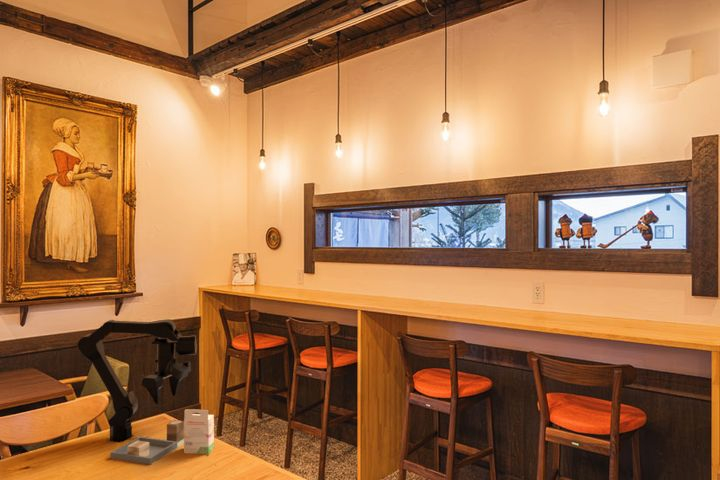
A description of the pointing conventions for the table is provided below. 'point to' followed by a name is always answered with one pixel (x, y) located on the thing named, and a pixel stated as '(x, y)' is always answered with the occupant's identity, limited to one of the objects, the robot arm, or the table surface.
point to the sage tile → (178, 442)
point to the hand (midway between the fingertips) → (165, 399)
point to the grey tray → (156, 451)
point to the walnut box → (175, 431)
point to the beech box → (138, 448)
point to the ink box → (198, 432)
